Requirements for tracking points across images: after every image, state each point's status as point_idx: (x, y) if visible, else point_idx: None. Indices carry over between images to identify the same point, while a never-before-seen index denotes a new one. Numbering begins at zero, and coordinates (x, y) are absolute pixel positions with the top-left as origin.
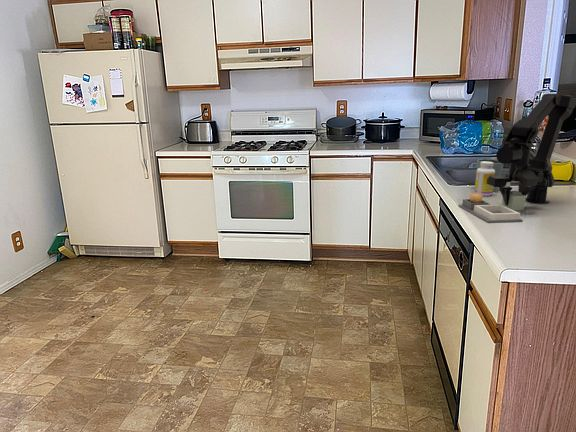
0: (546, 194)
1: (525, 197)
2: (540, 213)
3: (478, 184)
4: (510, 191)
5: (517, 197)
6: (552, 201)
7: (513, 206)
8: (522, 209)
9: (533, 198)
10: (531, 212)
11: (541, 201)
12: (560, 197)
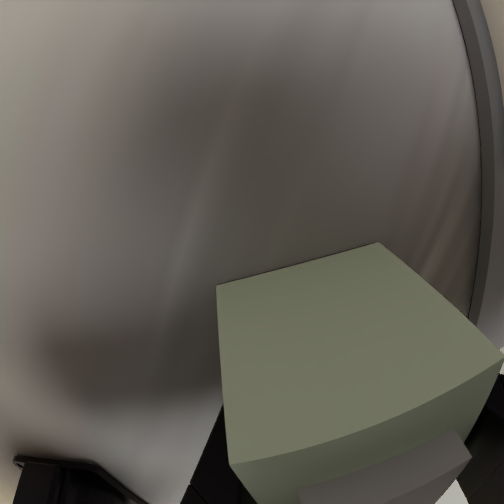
0: (14, 499)
1: (229, 431)
2: (48, 149)
3: None
4: (434, 498)
5: (420, 375)
6: (9, 466)
7: (384, 267)
8: (233, 284)
9: (91, 496)
10: (146, 174)
11: (43, 464)
12: (3, 489)
